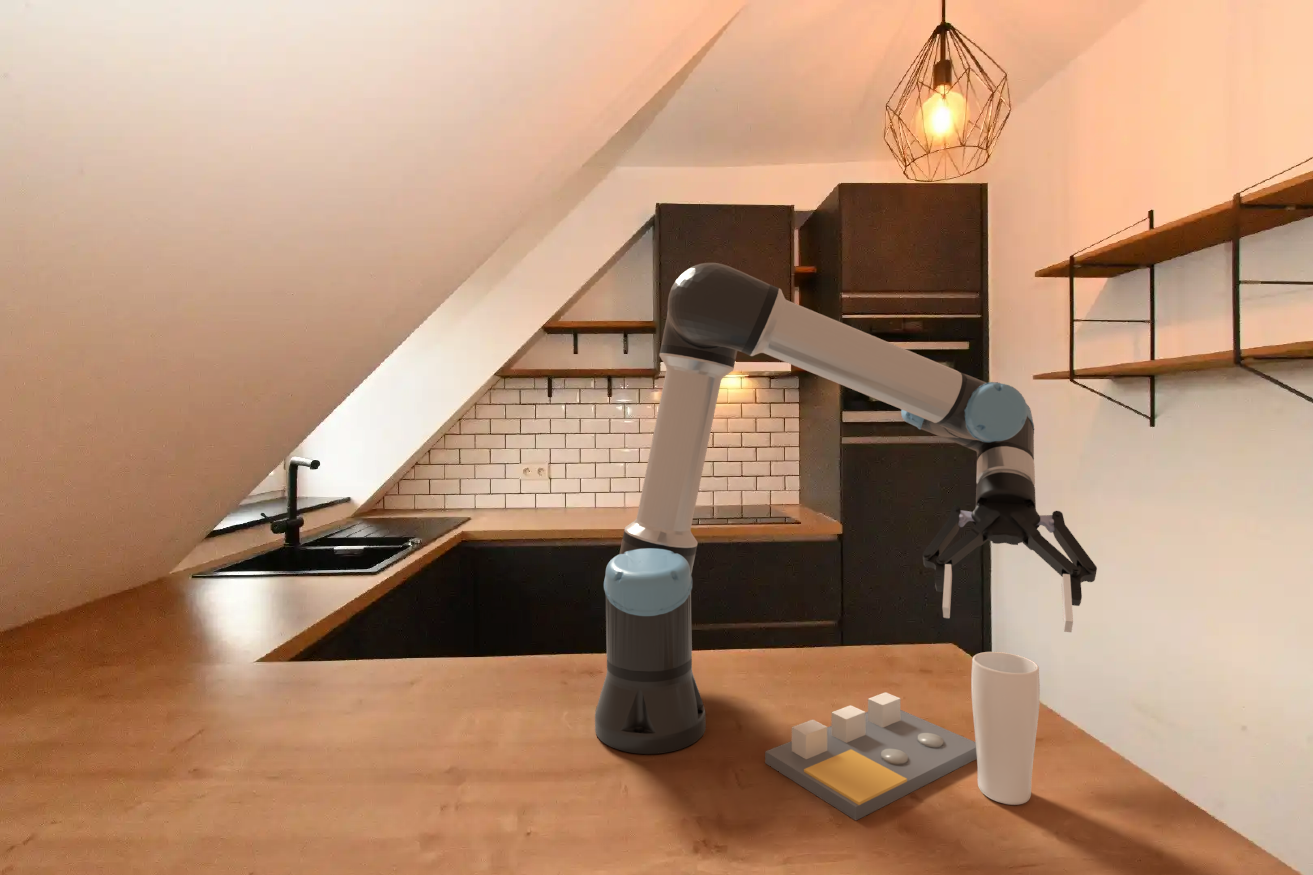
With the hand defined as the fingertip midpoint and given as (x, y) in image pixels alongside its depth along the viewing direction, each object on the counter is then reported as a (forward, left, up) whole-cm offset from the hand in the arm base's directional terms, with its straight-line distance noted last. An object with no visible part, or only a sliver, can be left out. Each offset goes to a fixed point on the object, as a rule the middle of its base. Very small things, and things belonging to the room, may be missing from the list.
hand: (1005, 619), depth 85 cm
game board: (-8, -15, -17) cm, 24 cm away
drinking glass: (+5, -9, -17) cm, 20 cm away
